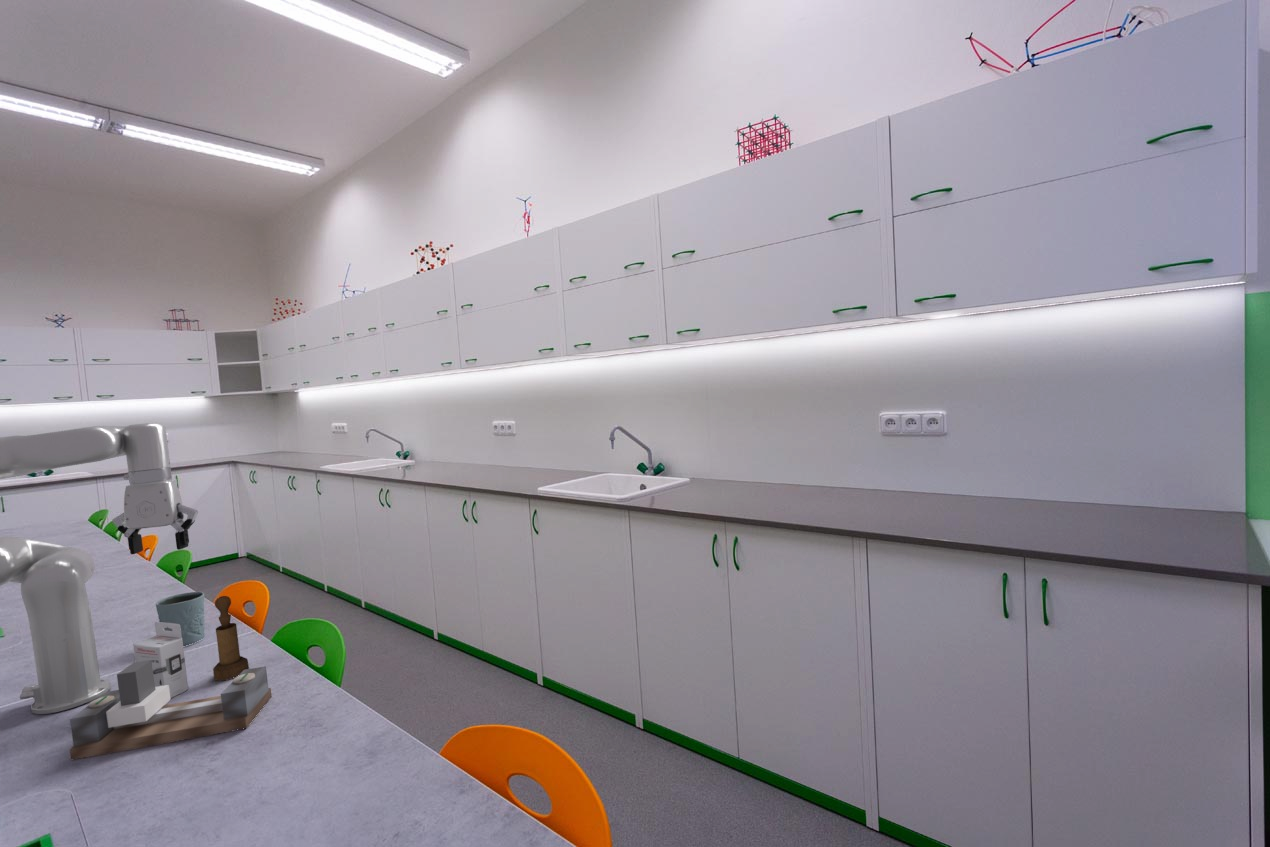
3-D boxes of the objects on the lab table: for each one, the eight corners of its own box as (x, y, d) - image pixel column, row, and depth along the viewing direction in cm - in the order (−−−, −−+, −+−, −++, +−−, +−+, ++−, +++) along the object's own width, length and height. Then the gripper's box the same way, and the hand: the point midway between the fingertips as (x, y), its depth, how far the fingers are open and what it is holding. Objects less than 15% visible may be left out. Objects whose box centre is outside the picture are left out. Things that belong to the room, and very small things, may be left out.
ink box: (138, 697, 126) (129, 630, 125) (163, 685, 131) (154, 621, 130) (165, 701, 123) (156, 633, 123) (189, 689, 128) (181, 623, 127)
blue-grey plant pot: (152, 648, 153) (146, 603, 153) (194, 632, 163) (188, 590, 162) (177, 652, 150) (171, 606, 149) (218, 635, 159) (212, 592, 158)
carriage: (108, 727, 107) (101, 679, 106) (135, 705, 115) (129, 660, 114) (146, 721, 108) (139, 673, 108) (170, 699, 116) (164, 655, 115)
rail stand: (71, 760, 104) (65, 718, 104) (115, 723, 116) (110, 686, 115) (246, 728, 110) (241, 689, 109) (271, 696, 122) (267, 661, 121)
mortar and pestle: (230, 681, 130) (221, 602, 129) (206, 680, 132) (196, 602, 131) (255, 667, 137) (246, 591, 136) (232, 666, 138) (223, 591, 137)
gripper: (96, 483, 130) (106, 559, 131) (181, 475, 132) (190, 550, 133) (121, 478, 137) (130, 550, 138) (201, 471, 140) (210, 542, 141)
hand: (160, 550), depth 136 cm, fingers open, 9 cm apart
